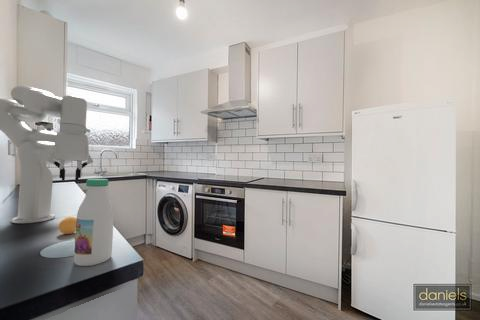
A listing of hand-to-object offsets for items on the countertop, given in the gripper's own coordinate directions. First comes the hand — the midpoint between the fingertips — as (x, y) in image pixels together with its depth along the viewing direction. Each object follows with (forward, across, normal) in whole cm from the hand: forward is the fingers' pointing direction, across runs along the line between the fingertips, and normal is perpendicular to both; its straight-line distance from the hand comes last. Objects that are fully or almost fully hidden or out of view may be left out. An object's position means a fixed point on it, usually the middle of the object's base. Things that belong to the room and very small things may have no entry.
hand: (70, 179), depth 78 cm
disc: (+17, 0, +24) cm, 30 cm away
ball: (+15, 0, +10) cm, 17 cm away
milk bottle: (+17, -4, +36) cm, 41 cm away
